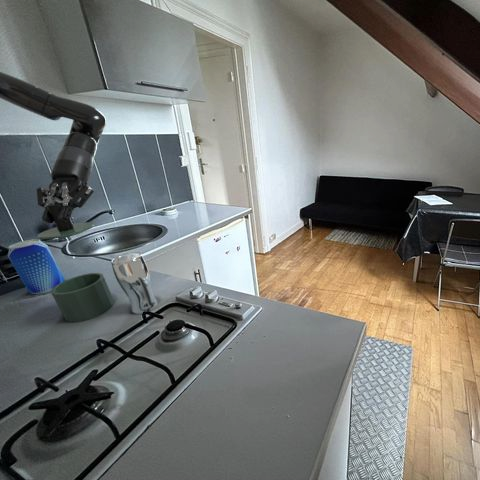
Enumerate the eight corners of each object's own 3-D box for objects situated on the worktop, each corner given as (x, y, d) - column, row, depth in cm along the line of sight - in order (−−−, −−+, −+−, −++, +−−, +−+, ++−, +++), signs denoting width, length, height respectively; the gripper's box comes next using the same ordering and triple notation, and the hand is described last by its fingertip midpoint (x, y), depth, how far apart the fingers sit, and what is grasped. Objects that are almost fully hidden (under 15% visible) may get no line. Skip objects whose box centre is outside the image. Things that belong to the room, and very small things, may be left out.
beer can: (66, 279, 88) (44, 235, 82) (67, 288, 83) (43, 242, 76) (31, 290, 83) (5, 244, 77) (30, 300, 77) (1, 251, 71)
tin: (66, 328, 65) (50, 299, 61) (65, 310, 72) (51, 283, 69) (116, 308, 71) (104, 282, 68) (111, 293, 78) (101, 269, 75)
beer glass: (127, 318, 67) (105, 267, 61) (133, 303, 73) (113, 255, 67) (158, 310, 69) (139, 260, 63) (161, 296, 75) (144, 249, 69)
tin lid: (37, 245, 63) (20, 213, 60) (40, 234, 71) (26, 205, 68) (96, 232, 70) (84, 202, 67) (93, 223, 78) (82, 196, 75)
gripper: (35, 159, 70) (10, 216, 64) (88, 156, 70) (69, 212, 64) (61, 176, 77) (41, 229, 70) (109, 173, 77) (94, 225, 71)
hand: (55, 221), depth 67 cm, fingers closed on tin lid, 3 cm apart
